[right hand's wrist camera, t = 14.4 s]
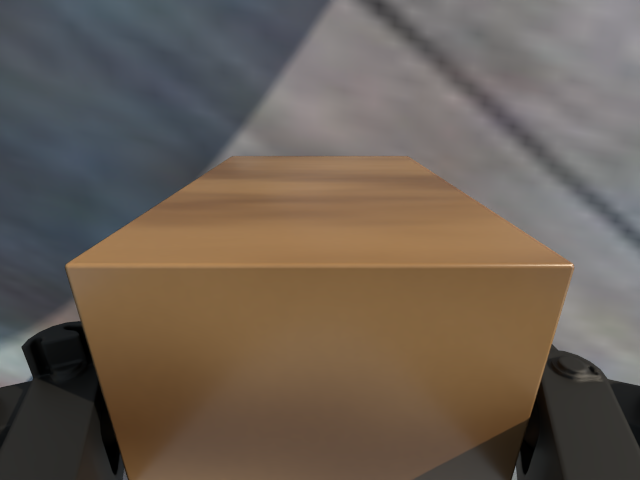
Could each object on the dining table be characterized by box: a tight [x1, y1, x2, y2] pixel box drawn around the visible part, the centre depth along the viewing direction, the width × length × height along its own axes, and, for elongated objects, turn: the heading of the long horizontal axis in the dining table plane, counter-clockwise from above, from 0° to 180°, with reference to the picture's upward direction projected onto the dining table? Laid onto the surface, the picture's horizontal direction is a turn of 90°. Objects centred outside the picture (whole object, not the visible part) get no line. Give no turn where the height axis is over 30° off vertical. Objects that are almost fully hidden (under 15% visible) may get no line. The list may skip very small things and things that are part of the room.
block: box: [65, 156, 574, 480], centre depth 12 cm, size 8×8×11 cm
